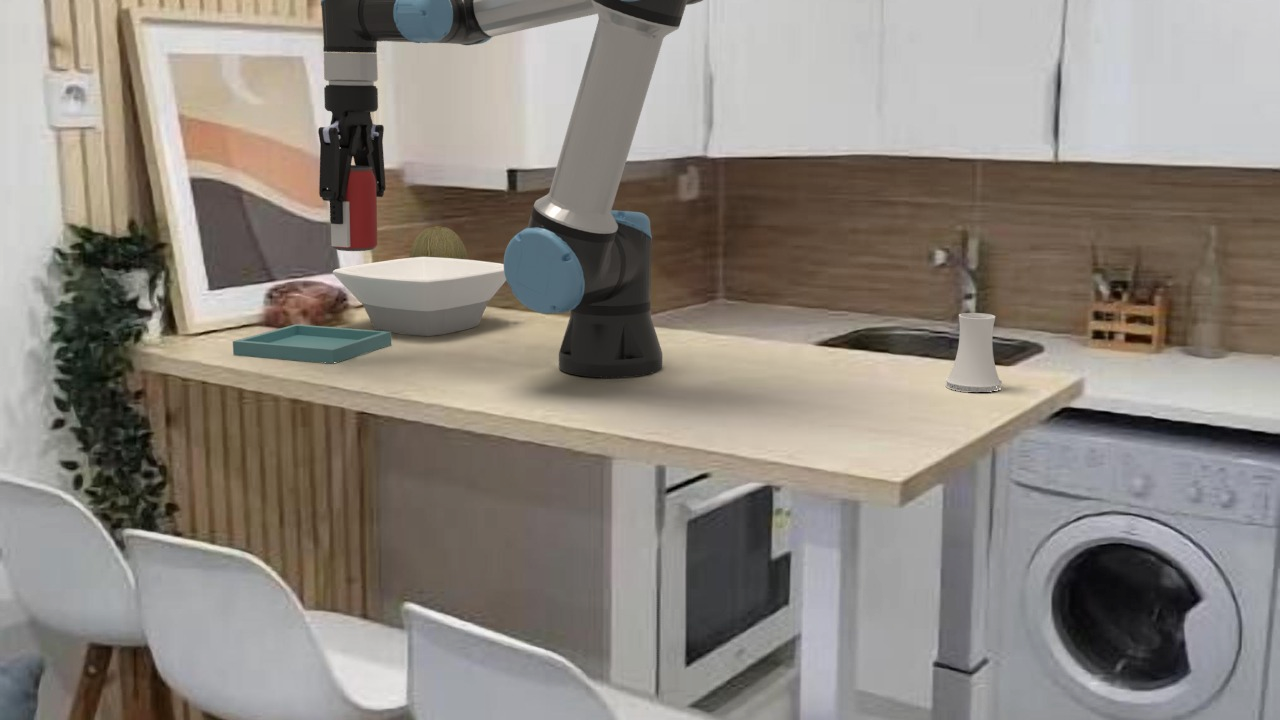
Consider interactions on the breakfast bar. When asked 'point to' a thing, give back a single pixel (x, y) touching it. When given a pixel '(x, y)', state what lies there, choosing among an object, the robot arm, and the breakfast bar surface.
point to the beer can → (362, 209)
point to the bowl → (423, 293)
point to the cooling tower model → (974, 356)
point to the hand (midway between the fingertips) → (354, 243)
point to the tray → (312, 343)
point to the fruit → (438, 244)
